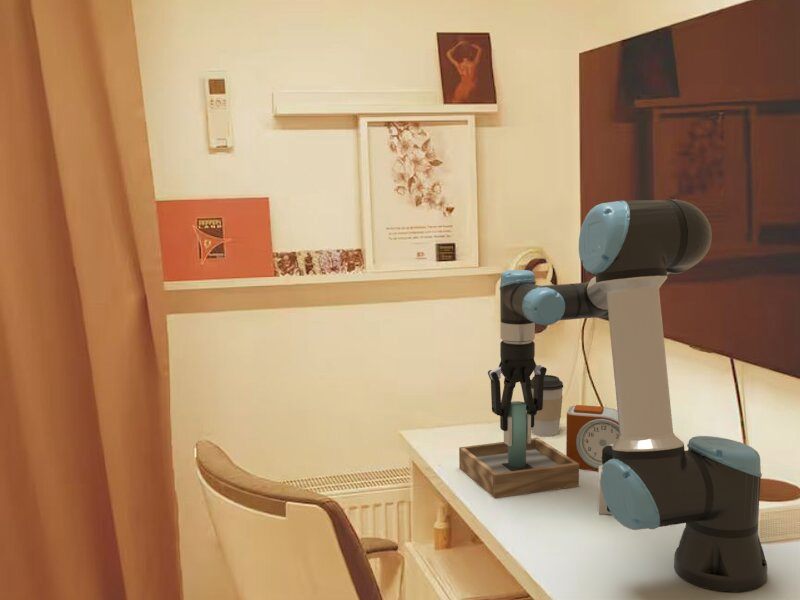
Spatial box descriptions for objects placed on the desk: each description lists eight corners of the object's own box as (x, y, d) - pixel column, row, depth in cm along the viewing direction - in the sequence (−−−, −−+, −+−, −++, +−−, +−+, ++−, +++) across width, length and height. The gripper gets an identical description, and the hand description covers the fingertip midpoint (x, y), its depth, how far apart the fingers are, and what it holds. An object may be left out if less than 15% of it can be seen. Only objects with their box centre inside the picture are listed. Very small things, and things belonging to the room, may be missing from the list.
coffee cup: (543, 425, 242) (544, 370, 240) (570, 432, 235) (570, 376, 233) (520, 432, 237) (520, 376, 234) (547, 440, 230) (547, 382, 227)
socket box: (579, 485, 198) (579, 463, 197) (495, 498, 192) (494, 475, 191) (537, 457, 217) (537, 437, 216) (459, 468, 211) (459, 447, 210)
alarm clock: (564, 468, 209) (565, 411, 207) (570, 456, 217) (570, 401, 215) (630, 474, 204) (632, 416, 202) (633, 462, 212) (635, 406, 210)
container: (638, 516, 181) (639, 454, 179) (598, 514, 182) (599, 452, 180) (636, 502, 188) (637, 441, 186) (597, 500, 190) (598, 440, 188)
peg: (529, 465, 203) (529, 405, 200) (512, 467, 201) (512, 406, 199) (521, 460, 206) (521, 400, 204) (505, 462, 205) (505, 402, 203)
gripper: (544, 334, 205) (543, 433, 209) (475, 340, 200) (475, 442, 204) (560, 340, 198) (559, 443, 202) (488, 347, 193) (489, 452, 197)
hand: (517, 442), depth 203 cm, fingers closed on peg, 4 cm apart
